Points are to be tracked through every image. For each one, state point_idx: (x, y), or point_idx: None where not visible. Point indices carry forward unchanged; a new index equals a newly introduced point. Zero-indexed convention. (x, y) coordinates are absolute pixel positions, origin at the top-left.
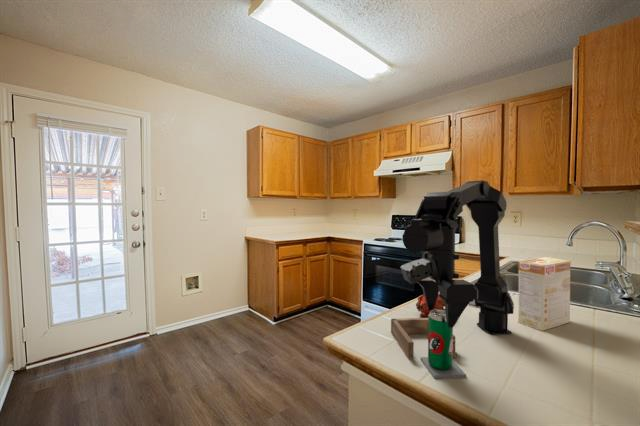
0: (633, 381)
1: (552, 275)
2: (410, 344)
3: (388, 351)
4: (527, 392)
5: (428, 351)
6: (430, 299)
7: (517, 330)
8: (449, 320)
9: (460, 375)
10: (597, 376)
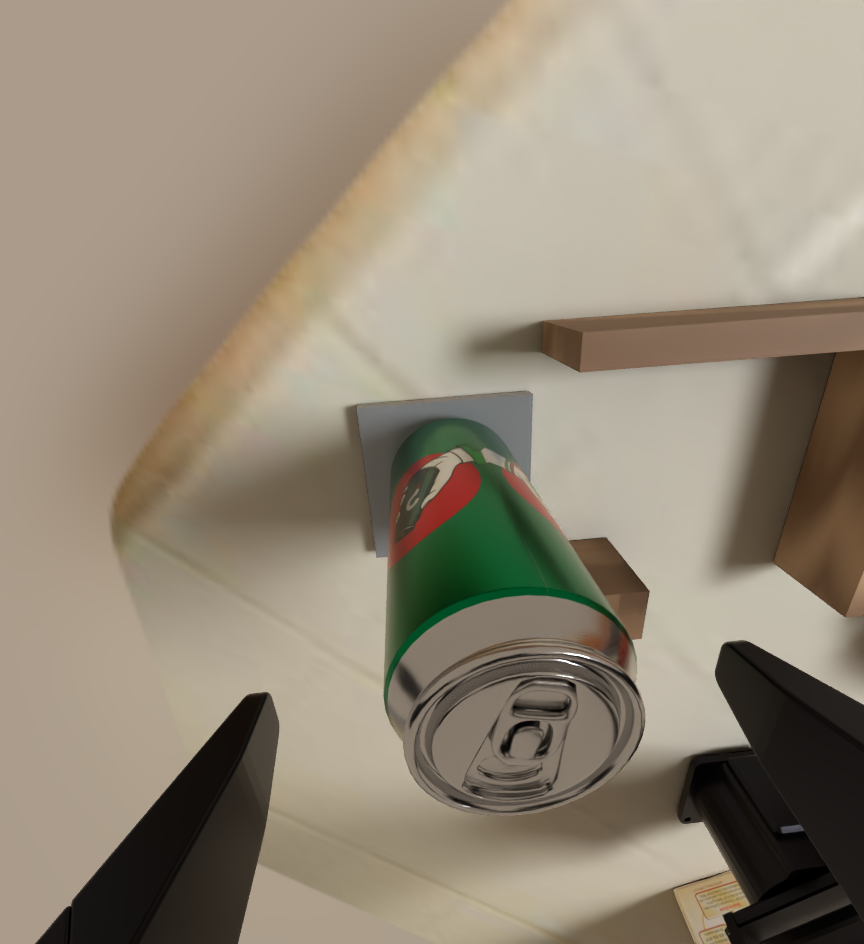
0: (388, 920)
1: None
2: (576, 345)
3: (646, 202)
4: (302, 700)
5: (467, 438)
6: (848, 794)
7: (698, 837)
8: (178, 784)
9: (373, 531)
10: (406, 878)
